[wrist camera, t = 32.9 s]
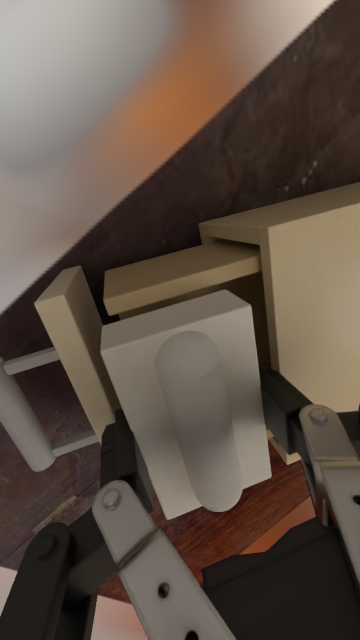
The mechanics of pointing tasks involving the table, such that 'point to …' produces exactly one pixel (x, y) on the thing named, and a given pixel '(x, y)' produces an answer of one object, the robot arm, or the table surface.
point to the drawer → (127, 301)
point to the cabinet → (308, 290)
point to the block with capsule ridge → (192, 399)
